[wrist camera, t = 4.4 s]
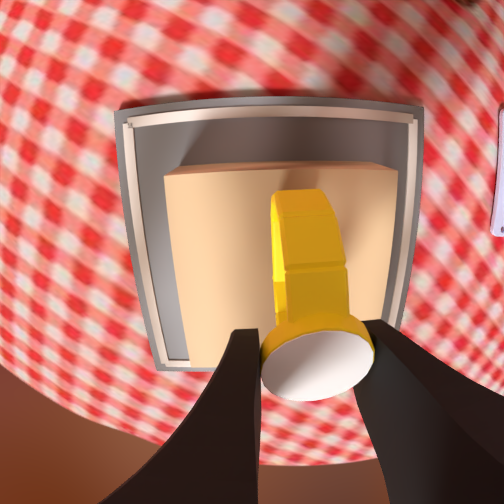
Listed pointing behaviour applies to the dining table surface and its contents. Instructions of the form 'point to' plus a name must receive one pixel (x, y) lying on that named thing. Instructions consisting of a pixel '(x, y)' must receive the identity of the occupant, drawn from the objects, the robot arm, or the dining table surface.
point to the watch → (311, 304)
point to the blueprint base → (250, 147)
